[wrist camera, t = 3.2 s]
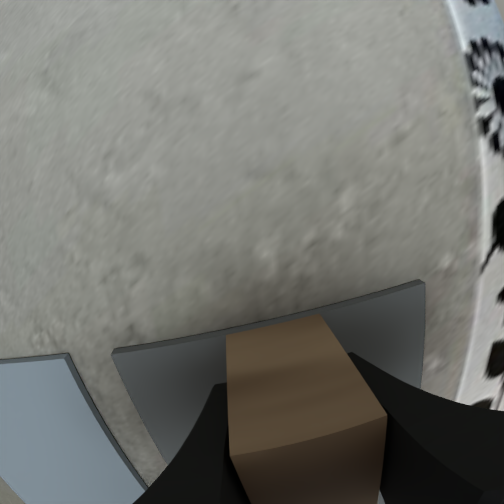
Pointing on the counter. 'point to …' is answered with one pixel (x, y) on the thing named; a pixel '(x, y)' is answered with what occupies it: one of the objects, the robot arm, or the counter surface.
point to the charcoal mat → (205, 359)
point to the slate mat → (58, 438)
